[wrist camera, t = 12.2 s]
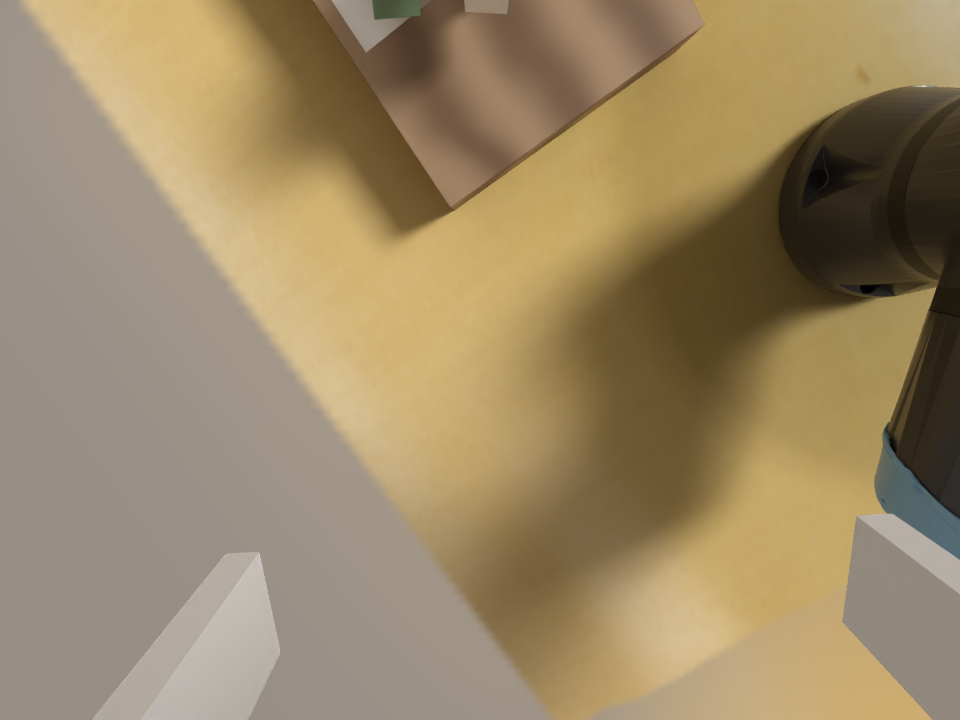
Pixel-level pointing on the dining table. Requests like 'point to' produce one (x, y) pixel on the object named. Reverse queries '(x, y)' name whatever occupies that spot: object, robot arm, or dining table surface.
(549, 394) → the dining table surface
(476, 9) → the white box with rod
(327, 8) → the wooden box with sign
